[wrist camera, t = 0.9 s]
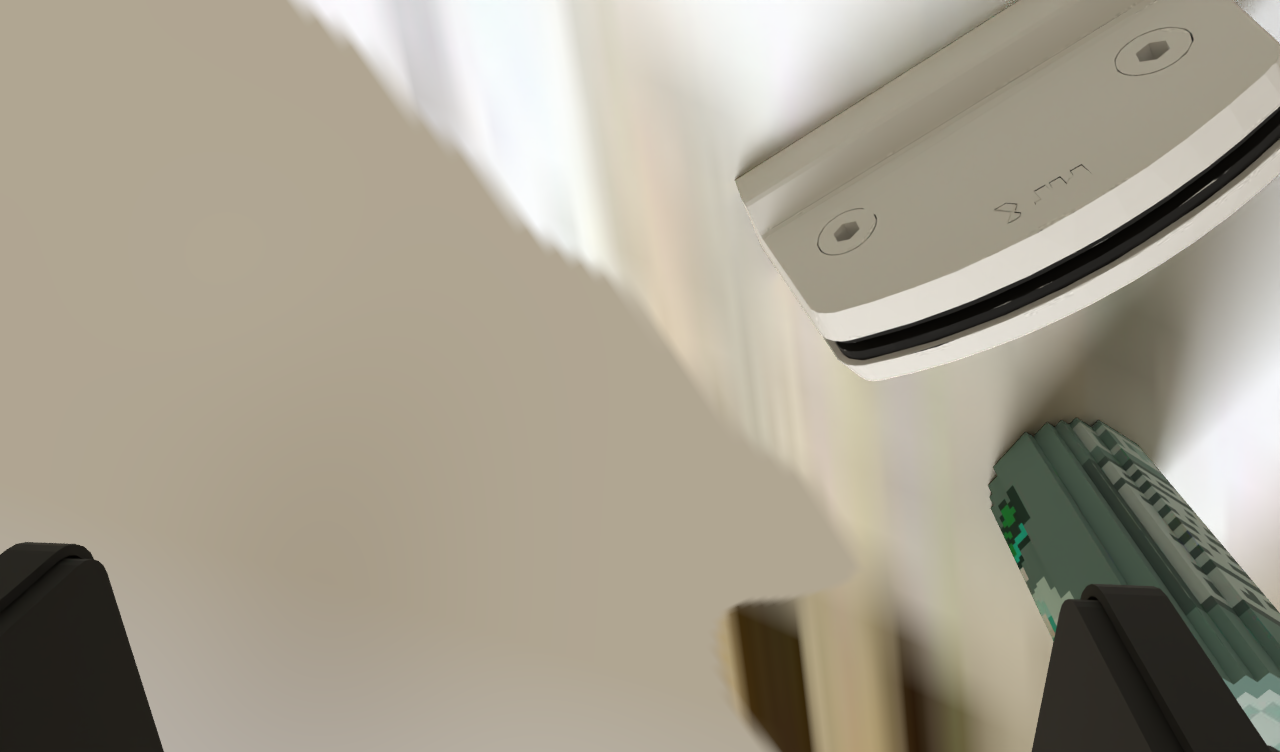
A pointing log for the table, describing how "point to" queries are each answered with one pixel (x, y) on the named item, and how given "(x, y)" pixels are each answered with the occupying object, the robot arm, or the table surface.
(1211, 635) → the can
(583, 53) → the table surface
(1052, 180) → the hinge
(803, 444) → the table surface
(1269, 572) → the table surface
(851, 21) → the table surface
